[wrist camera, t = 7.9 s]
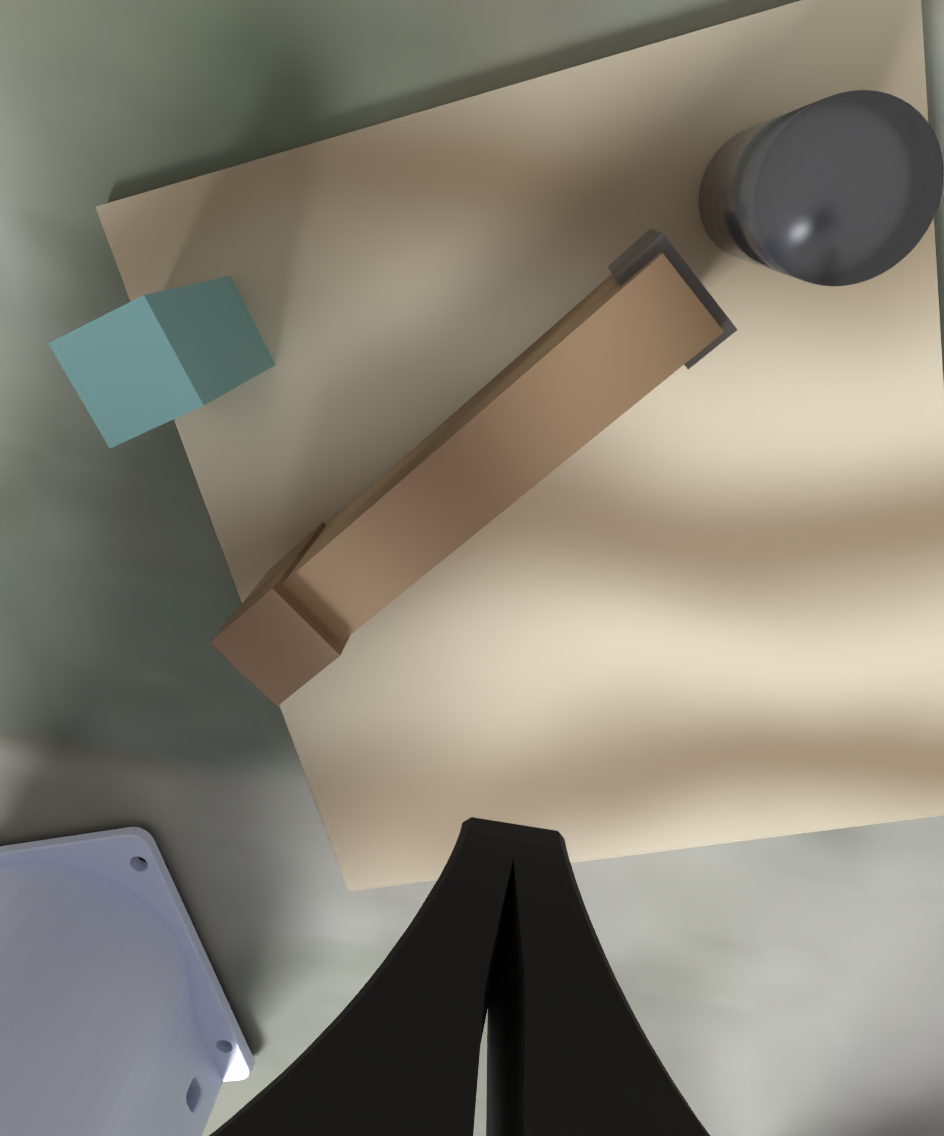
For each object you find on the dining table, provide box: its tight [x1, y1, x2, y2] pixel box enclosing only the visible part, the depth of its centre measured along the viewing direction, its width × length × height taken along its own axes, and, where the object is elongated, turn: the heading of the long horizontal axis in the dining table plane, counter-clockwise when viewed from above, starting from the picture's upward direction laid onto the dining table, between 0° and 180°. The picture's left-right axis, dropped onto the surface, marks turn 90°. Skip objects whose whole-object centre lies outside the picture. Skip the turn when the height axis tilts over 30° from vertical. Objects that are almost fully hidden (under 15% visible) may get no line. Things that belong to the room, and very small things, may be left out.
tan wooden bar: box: [210, 229, 738, 707], centre depth 17 cm, size 11×2×4 cm, turn 132°
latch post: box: [48, 276, 275, 448], centre depth 17 cm, size 2×2×4 cm
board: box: [95, 0, 944, 891], centre depth 20 cm, size 18×16×1 cm
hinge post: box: [699, 90, 943, 286], centre depth 15 cm, size 2×2×6 cm
